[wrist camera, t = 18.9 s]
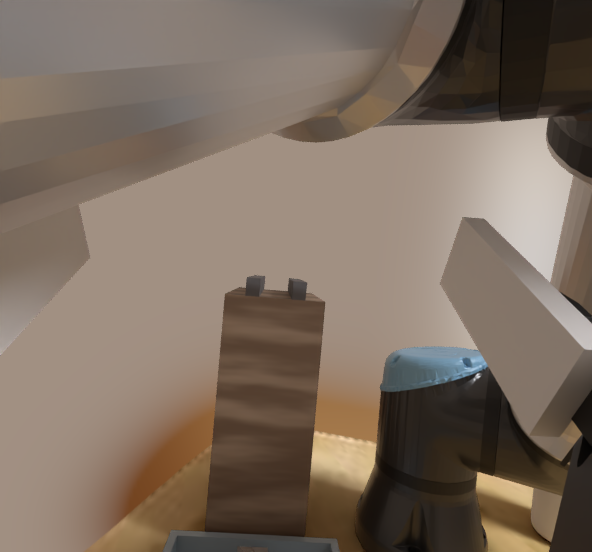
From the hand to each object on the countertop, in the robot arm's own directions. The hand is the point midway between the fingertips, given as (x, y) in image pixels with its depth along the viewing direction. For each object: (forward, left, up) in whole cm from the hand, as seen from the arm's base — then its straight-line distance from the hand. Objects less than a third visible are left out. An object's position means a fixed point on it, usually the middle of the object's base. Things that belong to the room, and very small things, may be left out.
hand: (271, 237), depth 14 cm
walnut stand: (-13, -34, -32) cm, 49 cm away
